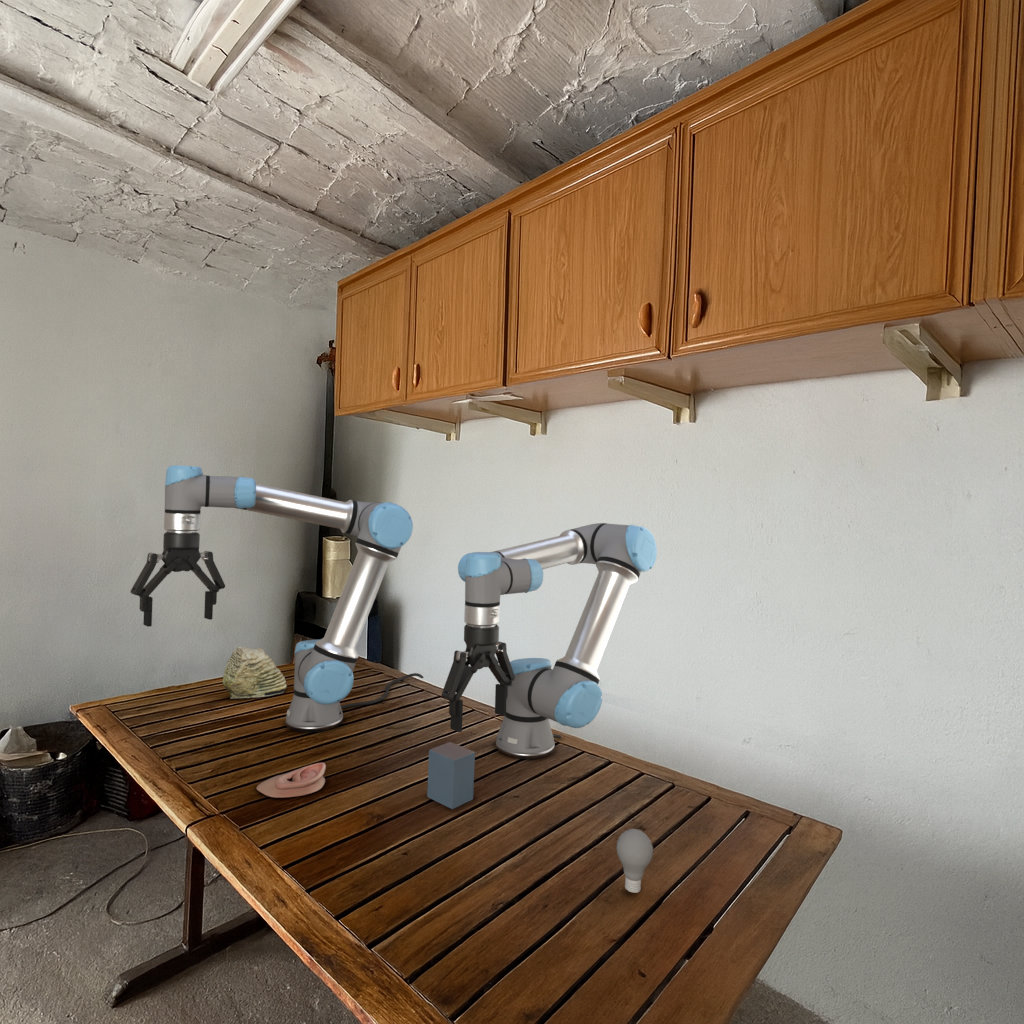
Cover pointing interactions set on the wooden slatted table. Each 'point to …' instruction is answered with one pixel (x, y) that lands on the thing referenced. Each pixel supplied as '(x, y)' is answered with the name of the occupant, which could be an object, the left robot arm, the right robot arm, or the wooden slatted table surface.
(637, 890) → the light bulb
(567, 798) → the wooden slatted table surface
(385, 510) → the left robot arm
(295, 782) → the anatomical model
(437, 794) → the brick
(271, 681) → the fossil
